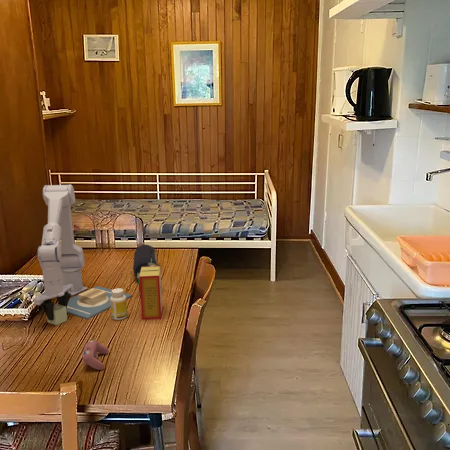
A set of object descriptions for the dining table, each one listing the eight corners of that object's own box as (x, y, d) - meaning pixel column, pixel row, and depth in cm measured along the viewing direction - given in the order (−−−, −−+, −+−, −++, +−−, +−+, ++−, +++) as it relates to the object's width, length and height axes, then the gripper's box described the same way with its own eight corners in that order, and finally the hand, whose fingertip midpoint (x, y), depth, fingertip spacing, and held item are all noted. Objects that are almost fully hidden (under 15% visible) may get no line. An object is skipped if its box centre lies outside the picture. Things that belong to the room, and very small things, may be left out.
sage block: (47, 322, 159) (45, 307, 157) (58, 317, 162) (56, 302, 161) (56, 325, 156) (54, 309, 155) (67, 320, 160) (65, 304, 159)
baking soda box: (161, 318, 160) (159, 274, 156) (141, 319, 160) (139, 275, 156) (162, 306, 169) (160, 265, 165) (144, 307, 169) (141, 265, 165)
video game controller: (97, 357, 140) (84, 339, 138) (110, 350, 139) (98, 332, 137) (90, 376, 130) (77, 357, 128) (105, 369, 130) (91, 349, 128)
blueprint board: (52, 308, 169) (51, 298, 168) (97, 287, 187) (96, 278, 187) (87, 319, 160) (86, 309, 159) (131, 296, 178) (131, 287, 177)
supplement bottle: (130, 314, 164) (128, 288, 161) (122, 321, 159) (120, 294, 156) (116, 312, 165) (114, 286, 163) (108, 319, 160) (106, 292, 158)
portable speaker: (158, 282, 192) (157, 259, 189) (133, 284, 190) (132, 261, 188) (157, 262, 216) (156, 241, 213) (135, 263, 214) (133, 242, 212)
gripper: (42, 289, 147) (47, 328, 151) (78, 274, 159) (81, 311, 163) (27, 284, 151) (32, 323, 155) (64, 270, 163) (67, 306, 166)
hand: (57, 316), depth 159 cm, fingers closed on sage block, 4 cm apart
